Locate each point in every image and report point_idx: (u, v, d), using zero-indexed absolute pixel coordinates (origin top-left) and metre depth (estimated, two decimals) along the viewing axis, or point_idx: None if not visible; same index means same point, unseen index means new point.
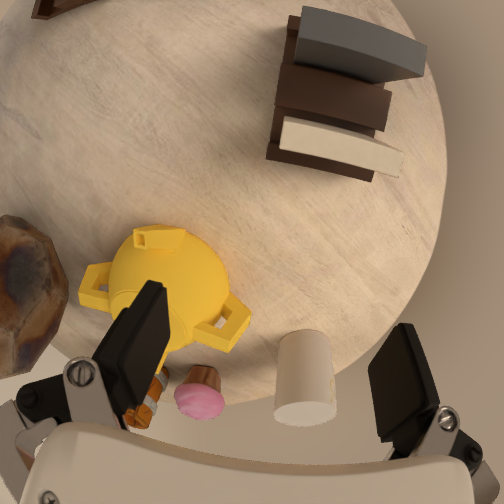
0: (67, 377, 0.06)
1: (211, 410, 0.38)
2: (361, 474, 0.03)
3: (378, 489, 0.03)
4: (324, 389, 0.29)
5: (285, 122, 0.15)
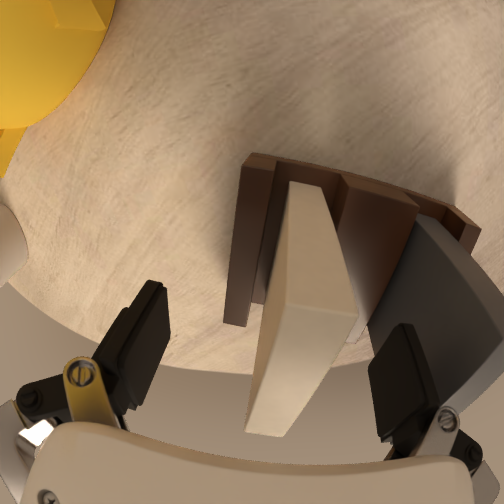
0: (67, 377, 0.06)
1: None
2: (362, 474, 0.03)
3: (378, 489, 0.03)
4: None
5: (354, 317, 0.06)
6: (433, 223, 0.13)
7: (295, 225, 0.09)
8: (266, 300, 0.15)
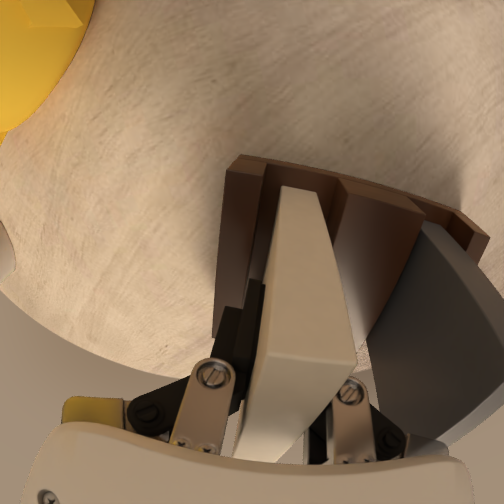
0: (198, 381, 0.07)
1: None
2: (361, 473, 0.03)
3: (378, 489, 0.03)
4: None
5: (352, 365, 0.05)
6: (438, 231, 0.12)
7: (285, 242, 0.08)
8: None
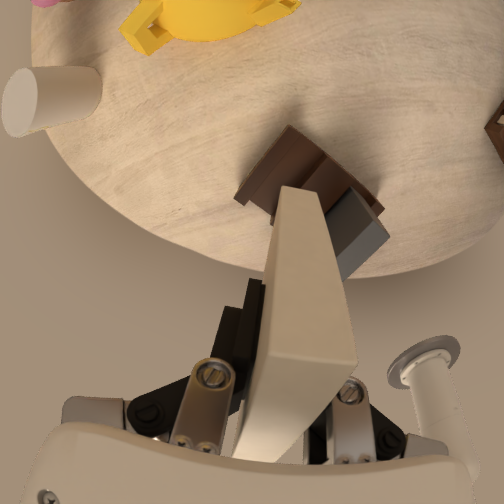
0: (197, 381, 0.07)
1: None
2: (362, 474, 0.03)
3: (378, 489, 0.03)
4: (42, 121, 0.20)
5: (353, 365, 0.05)
6: (359, 195, 0.29)
7: (285, 241, 0.08)
8: None
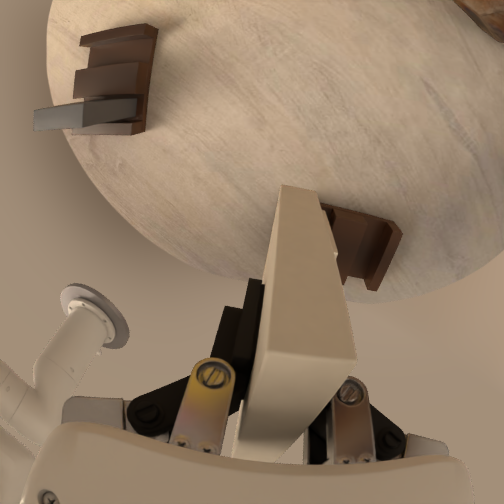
0: (198, 381, 0.07)
1: None
2: (362, 474, 0.03)
3: (378, 489, 0.03)
4: None
5: (352, 364, 0.05)
6: (131, 110, 0.26)
7: (284, 240, 0.08)
8: None
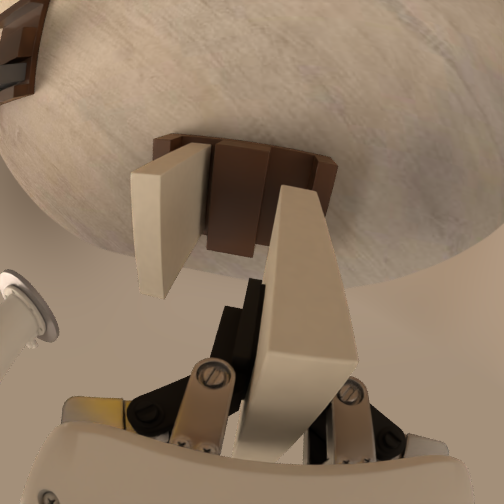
0: (198, 381, 0.07)
1: None
2: (362, 474, 0.03)
3: (378, 489, 0.03)
4: None
5: (353, 364, 0.05)
6: (18, 74, 0.16)
7: (285, 240, 0.08)
8: None
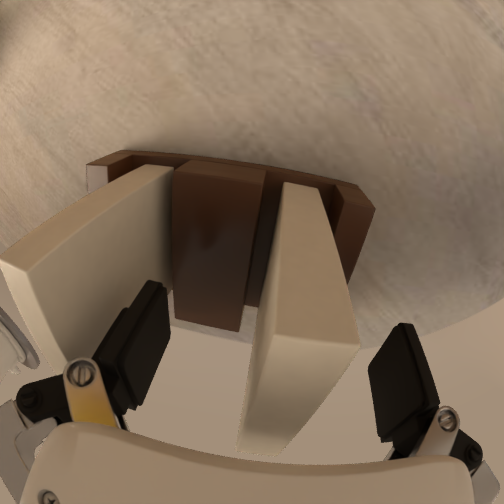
0: (67, 377, 0.06)
1: None
2: (362, 474, 0.03)
3: (378, 489, 0.03)
4: None
5: (355, 348, 0.05)
6: None
7: (288, 234, 0.08)
8: (259, 310, 0.14)
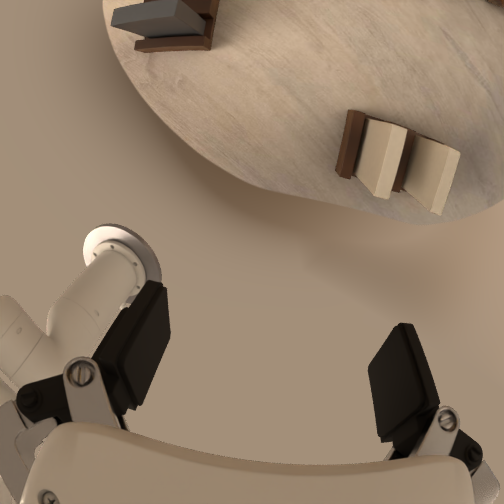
0: (67, 377, 0.06)
1: None
2: (362, 474, 0.03)
3: (378, 489, 0.03)
4: None
5: (459, 153, 0.22)
6: (201, 28, 0.25)
7: (434, 141, 0.25)
8: (411, 178, 0.31)
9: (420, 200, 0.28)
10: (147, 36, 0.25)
